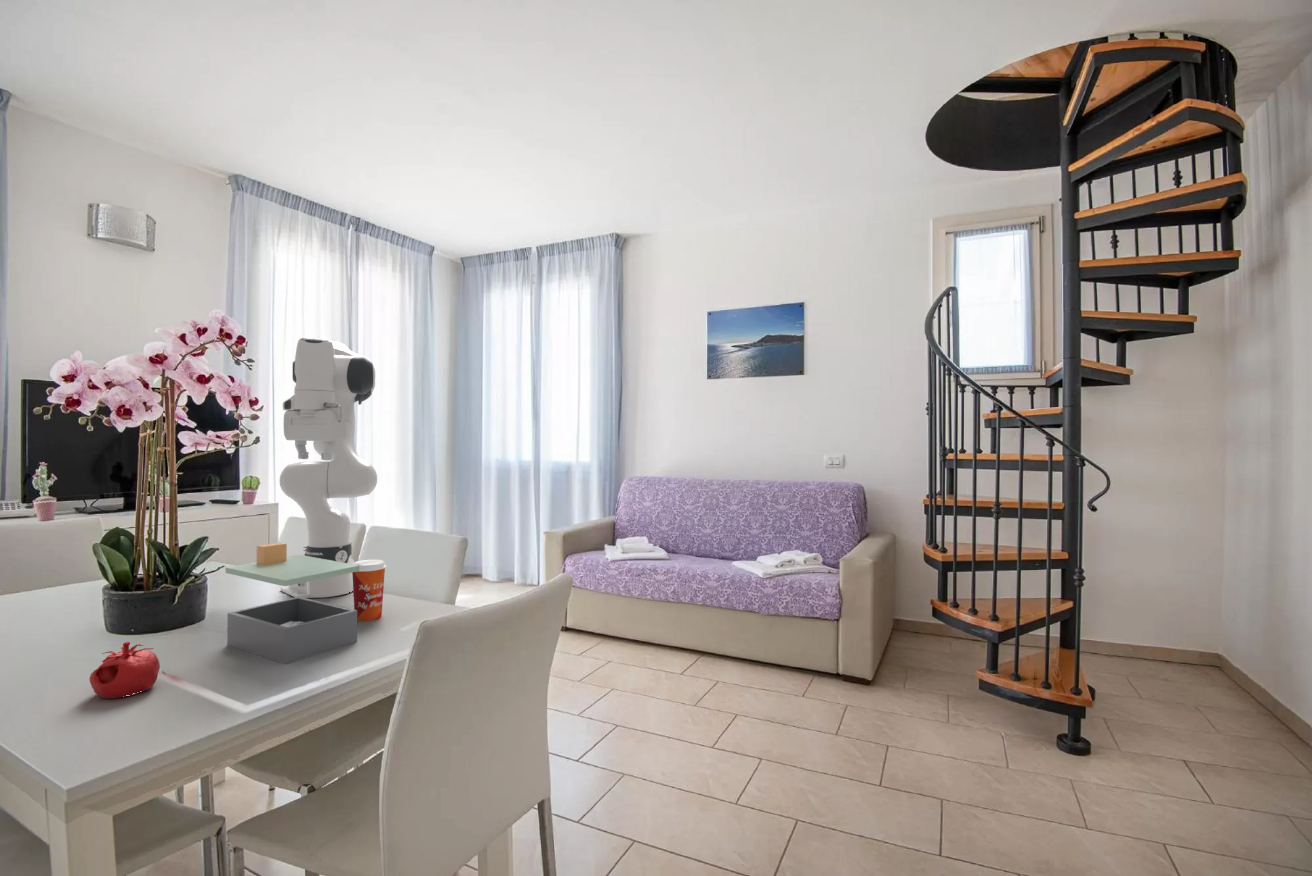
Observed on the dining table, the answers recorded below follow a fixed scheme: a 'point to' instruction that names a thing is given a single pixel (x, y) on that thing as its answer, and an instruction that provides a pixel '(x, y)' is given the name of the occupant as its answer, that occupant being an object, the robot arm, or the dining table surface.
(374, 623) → the dining table surface
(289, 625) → the steel part
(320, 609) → the tub
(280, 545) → the lid
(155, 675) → the red tomato
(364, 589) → the coffee cup
